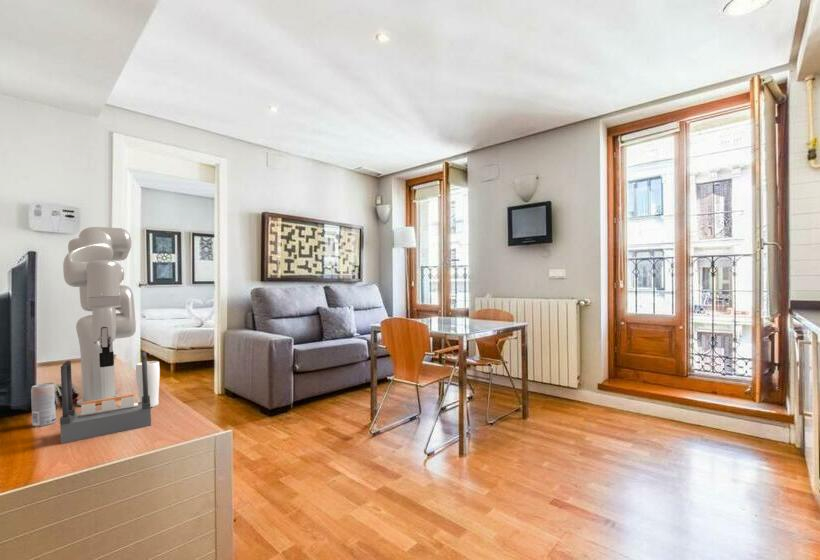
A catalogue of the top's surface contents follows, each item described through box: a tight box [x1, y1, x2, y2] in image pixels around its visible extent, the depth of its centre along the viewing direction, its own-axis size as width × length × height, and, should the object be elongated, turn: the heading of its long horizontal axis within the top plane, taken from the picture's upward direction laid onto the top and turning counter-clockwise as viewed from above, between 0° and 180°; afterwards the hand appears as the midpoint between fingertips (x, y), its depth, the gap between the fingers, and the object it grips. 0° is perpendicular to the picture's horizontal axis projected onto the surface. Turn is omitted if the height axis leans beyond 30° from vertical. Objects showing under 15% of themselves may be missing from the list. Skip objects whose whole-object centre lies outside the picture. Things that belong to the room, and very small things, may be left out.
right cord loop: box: [141, 351, 151, 410], centre depth 119 cm, size 10×2×16 cm, turn 35°
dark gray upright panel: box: [59, 360, 76, 425], centre depth 109 cm, size 10×2×16 cm, turn 35°
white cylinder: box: [135, 360, 161, 409], centre depth 135 cm, size 7×7×15 cm
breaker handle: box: [77, 393, 139, 417], centre depth 114 cm, size 2×14×4 cm, turn 124°
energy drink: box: [30, 382, 57, 428], centre depth 121 cm, size 5×5×12 cm
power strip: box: [59, 401, 152, 444], centre depth 114 cm, size 10×20×5 cm, turn 125°
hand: (107, 366), depth 114 cm, fingers closed
